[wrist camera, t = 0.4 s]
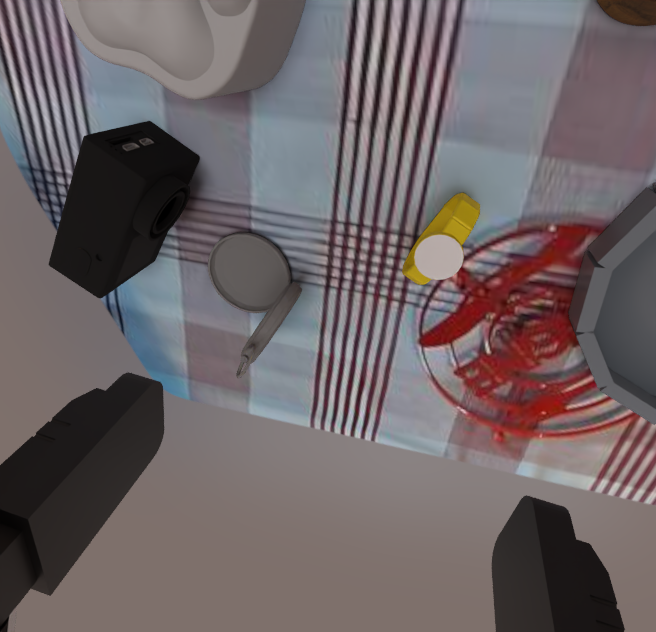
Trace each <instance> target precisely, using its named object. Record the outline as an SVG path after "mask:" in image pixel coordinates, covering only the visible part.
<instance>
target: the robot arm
mask: <svg viewBox="0 0 656 632" xmlns="http://www.w3.org/2000/svg"><path fill="white" fill-rule="evenodd" d="M163 408H164V407H163V386H162V384H161V383H160V382H158V381H155V380H152V379H149V378H145V377H142V376H139V375H135V374H132V373H126V374H123V375H122V376H121V377H120V378H119V379H117V380H116V381H115V382H114V383H113V384H112V386H110V387H109V388H108V389H107V390H106V391H104V390H101V389H98V388H96V389H94V390H92V391H90V392H88V393H86V394H84V395H82V396H80V397H78V398H76V399H74V400H72V401H71V402H69V403H68V404H67V405H66V406H65V407H64V408H63V409H62V410H61V411H60V412H58V413H57V414H56V415H55V416H54V417H53V418H52V421H51V422H47V423H46V424H45V425H44V426H43V427H42V428H41V429H40V430H39V431H37V433H36V435H35V436H34V437H31V438H30V439H29V440H28V441H27V442H25V443H24V444H23V445H22V446H21V447H20V448H19V449H18V450H17V451H15V452H14V453H13V454H12V455H11V456H10V457H9V458H8V459H7V460H5V461H4V462H3V463H2V464H1V465H0V632H14V631H15V622H16V606H17V605H18V604H19V603H20V601H21V600H22V599H23V598H24V596H25V595H26V594H27V593H28V591H29V590H30V589H34V590H36V591H39V592H42V593H44V594H47V595H51V594H52V593H53V592H54V590H55V589H56V588H57V586H58V585H59V583H60V582H61V581H62V580H63V578H64V577H65V576H66V574H67V573H68V572H69V570H70V569H71V567H72V566H73V565H74V563H75V562H76V561H77V560H78V558H79V557H80V556H81V554H82V553H83V551H84V550H85V549H86V547H87V546H88V545H89V543H90V542H91V541H92V539H93V538H94V536H95V535H96V534H97V533H98V531H99V530H100V528H101V527H102V526H103V525H104V523H105V522H106V521H107V519H108V518H109V517H110V515H111V514H112V513H113V511H114V510H115V509H116V507H117V506H118V505H119V503H120V502H121V501H122V499H123V498H124V496H125V495H126V494H127V492H128V491H129V490H130V488H131V487H132V486H133V484H134V483H135V482H136V480H137V479H138V478H139V476H140V475H141V474H142V472H143V471H144V470H145V468H146V467H147V466H148V464H149V463H150V462H151V460H152V459H153V457H154V456H155V454H156V453H157V451H158V449H159V447H160V444H161V442H162V439H163V434H164V409H163ZM492 578H493V594H494V609H495V624H496V632H624V630H625V629H624V625H623V622H622V618H621V615H620V611H619V610H618V609H617V607H616V605H617V601H616V598H615V594H614V591H613V587H612V584H611V580H610V577H609V574H608V572H607V570H606V568H605V567H604V566H603V564H602V562H601V561H600V559H599V557H598V556H597V554H596V553H595V551H594V550H593V548H592V546H591V545H590V544H589V543H586V542H582V541H579V540H576V537H575V533H574V529H573V525H572V521H571V517H570V514H569V512H568V510H567V509H566V508H565V507H563V506H559V505H556V504H553V503H550V502H546V501H543V500H540V499H536V498H533V497H530V496H524V497H523V498H522V499H521V500H520V502H519V504H518V505H517V507H516V509H515V510H514V512H513V513H512V515H511V517H510V518H509V520H508V522H507V523H506V525H505V526H504V528H503V530H502V531H501V533H500V534H499V536H498V538H497V541H496V543H495V546H494V550H493V556H492Z"/></svg>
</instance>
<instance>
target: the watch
mask: <svg viewBox="0 0 656 632" xmlns="http://www.w3.org/2000/svg"><path fill="white" fill-rule="evenodd" d="M479 214H480V204H479V203H477V202H476V201H474V200H473V199H472V198H470V197H469V196H467V195H466V194H465V193H459V194H456V195H455V196H453V197H452V198H451V199H450V200H449V201H448V202H447V203H446V204H445V205H444V207H443V208H442V209H441V211H440V212H439V213H438V214H437V216H436V217H435V218H434V219H433V221H432V222H431V223H430V224H429V226H428V227H427V228H426V229H425V231H424V232H423V233H422V234H421V236H420V237H419V238H418V240H417V241H416V243H415V245H414V246H413V248H412V249H411V252H410V253H409V255H408V257H407V259H406V261H405V263H404V265H403V270H402V273H403V275H405V276H406V277H408V278H409V279H411V280H412V281H414V282H415V283H416V284H418V285H424V284H427V283H428V282H429V281H430V280H432V279H434V280H442V279H447V278H449V277H451V276H453V275H454V274H455V273H457V272H458V270H459V269H460V267H461V266H462V263H463V259H464V254H463V247H462V245H463V243H464V242H465V240H466V239H467V237H468V236H469V234H470V233H471V231H472V229H473V227H474V225H475V223H476V221H477V219H478V217H479Z"/></svg>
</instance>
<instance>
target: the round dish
mask: <svg viewBox="0 0 656 632" xmlns="http://www.w3.org/2000/svg"><path fill="white" fill-rule="evenodd" d="M653 187H654V190H655V192H653V191H652V190H650V189H649V188H646V189H645V190H644V191H643V192H642V193H641V194H640V195H639V196H638V197H637V198H636V199H635V200H634V201H633V202H632V203H631V204H630V205H629V206H628V207H627V208H626V209H625V210H624V211H623V212H622V213H621V214H620V215H619V216H618V217H617V218H616V219H615V220H614V221H613V222H612V223H611V224H610V225H609V226H608V227H607V228H606V229H605V230H604V231H603V232H602V233H601V234H600V235H599V236H598V237H597V239H596V240H595V241H594V242H593V243H592V244H591V245H590V246H589V247H588V249H589V250H590V252H585V254H584V257H583V261H582V265H581V268H580V272H579V276H578V279H577V283H576V287H575V290H574V294H573V298H572V301H571V305H570V309H569V312H568V314H569V316H570V317H569V319H570V322H571V324H572V327H573V329H574V332H575V334H576V337H577V339H578V341H579V344H580V346H581V349H582V351H583V353H584V356H585V358H586V361H587V363H588V365H589V368H590V370H591V372H592V375H593V377H594V380H595V382H596V384H597V387H598V388H600V391H601V392H603V393H604V394H606V395H608V396H609V397H611V398H612V399H614V400H616V401H617V402H619V403H620V404H622V405H624V406H625V407H627V408H628V409H630V410H631V411H633V412H635V413H636V414H638V415H639V416H641V417H643V418H644V419H646V420H647V421H649V422H651V423H652V424H654V425H655V424H656V182H655V183H653Z"/></svg>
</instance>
